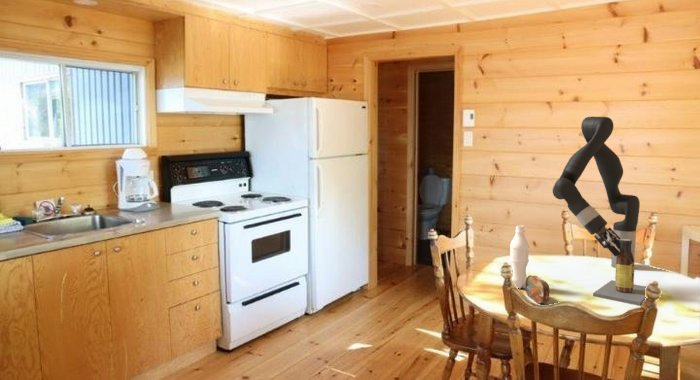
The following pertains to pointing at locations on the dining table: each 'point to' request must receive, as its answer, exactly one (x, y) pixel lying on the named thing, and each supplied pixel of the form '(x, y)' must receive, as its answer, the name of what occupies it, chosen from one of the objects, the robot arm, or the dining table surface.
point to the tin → (537, 289)
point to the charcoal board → (621, 294)
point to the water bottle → (519, 257)
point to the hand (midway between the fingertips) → (621, 252)
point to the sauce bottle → (625, 267)
